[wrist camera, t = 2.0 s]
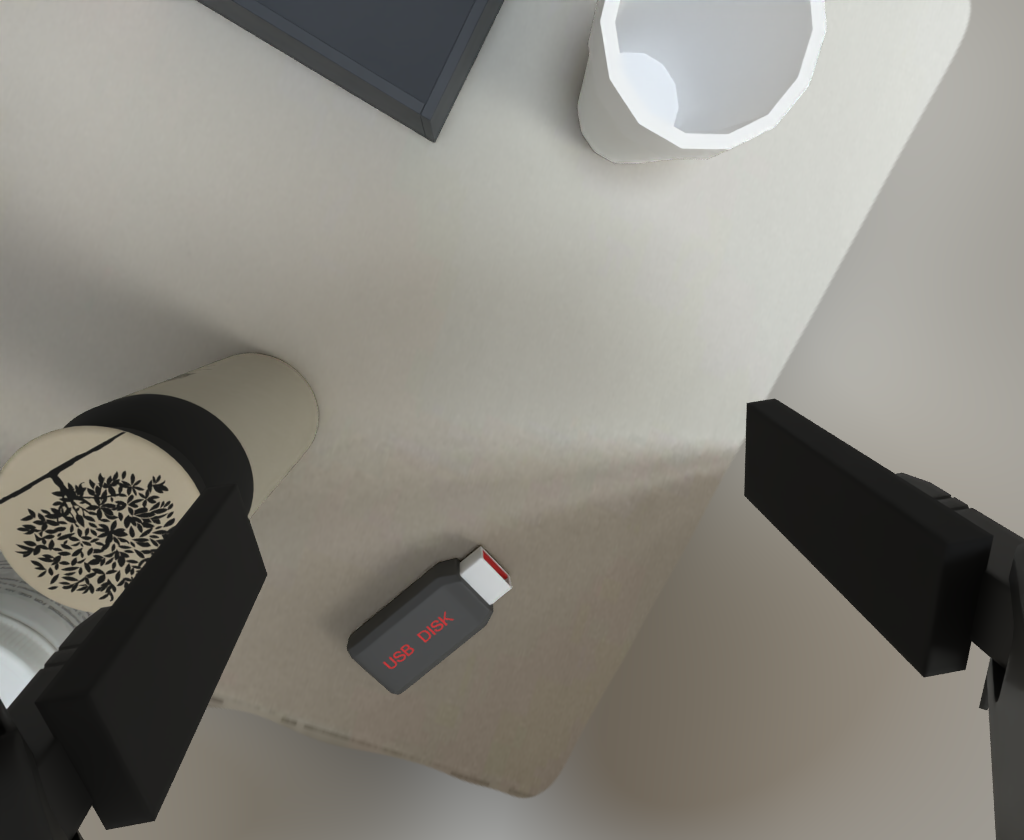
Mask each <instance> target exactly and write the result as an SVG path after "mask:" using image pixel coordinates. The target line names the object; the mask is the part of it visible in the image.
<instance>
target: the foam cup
mask: <svg viewBox="0 0 1024 840" xmlns="http://www.w3.org/2000/svg"><path fill="white" fill-rule="evenodd" d="M826 31H827V26H826V13H825V0H598V1H597V6H596V10H595V14H594V19H593V23H592V27H591V32H590V36H589V40H588V46H589V52H590V54H589V58H588V62H587V66H586V71H585V75H584V79H583V83H582V88H581V92H580V96H579V100H578V105H577V111H578V117H579V123H580V128H581V133H582V134H583V136H584V137H585V139H586V140H587V142H588V143H589V145H590V146H591V148H592V149H593V151H594V152H595V153H597V154H599V155H600V156H602V157H604V158H606V159H608V160H609V161H611V162H613V163H634V164H636V163H647V162H655V161H663V160H671V159H710V158H712V157H714V156H716V155H719V154H721V153H723V152H725V151H728V150H730V149H732V148H734V147H736V146H738V145H740V144H742V143H744V142H746V141H748V140H750V139H752V138H754V137H756V136H758V135H760V134H762V133H764V132H766V131H768V130H770V129H772V128H774V127H776V125H777V124H778V123H779V122H780V121H781V119H782V118H783V117H784V116H785V114H786V113H787V112H788V111H789V109H790V108H791V107H792V106H793V105H794V103H795V102H796V101H797V100H798V98H799V97H800V96H801V95H802V94H803V92H804V91H805V90H806V89H807V87H808V86H809V85H810V82H811V79H812V76H813V72H814V69H815V66H816V63H817V60H818V56H819V53H820V50H821V47H822V44H823V40H824V37H825V34H826Z"/></svg>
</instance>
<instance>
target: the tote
mask: <svg viewBox="0 0 1024 840" xmlns="http://www.w3.org/2000/svg"><path fill="white" fill-rule="evenodd" d="M197 1H198V2H200V3H202V4H203V5H205V6H207V7H209V8H210V9H212V10H214V11H215V12H217V13H219V14H220V15H222V16H224V17H225V18H227V19H229V20H230V21H232V22H234V23H235V24H237V25H239V26H240V27H242V28H244V29H245V30H247V31H249V32H250V33H252V34H254V35H255V36H257V37H259V38H260V39H262V40H264V41H265V42H267V43H269V44H270V45H272V46H274V47H275V48H277V49H279V50H280V51H282V52H284V53H285V54H287V55H289V56H290V57H292V58H294V59H295V60H297V61H299V62H300V63H302V64H304V65H305V66H307V67H309V68H310V69H312V70H314V71H315V72H317V73H319V74H320V75H322V76H324V77H325V78H327V79H329V80H330V81H332V82H334V83H335V84H337V85H339V86H340V87H342V88H344V89H345V90H347V91H349V92H350V93H352V94H354V95H355V96H357V97H359V98H360V99H362V100H364V101H365V102H367V103H369V104H370V105H372V106H374V107H375V108H377V109H379V110H380V111H382V112H384V113H385V114H387V115H389V116H390V117H392V118H394V119H395V120H397V121H399V122H400V123H402V124H404V125H405V126H407V127H409V128H410V129H412V130H414V131H415V132H417V133H419V134H420V135H422V136H424V137H425V138H427V139H429V140H430V141H432V142H434V143H435V141H436V139H437V137H438V135H439V133H440V131H441V129H442V127H443V125H444V123H445V121H446V119H447V117H448V115H449V112H450V110H451V108H452V106H453V104H454V102H455V100H456V98H457V96H458V94H459V92H460V90H461V88H462V86H463V84H464V82H465V80H466V78H467V75H468V73H469V71H470V69H471V67H472V65H473V63H474V61H475V59H476V57H477V55H478V53H479V51H480V49H481V47H482V45H483V43H484V41H485V38H486V36H487V34H488V32H489V30H490V28H491V26H492V24H493V22H494V20H495V18H496V16H497V14H498V12H499V10H500V8H501V6H502V4H503V1H504V0H197Z"/></svg>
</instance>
